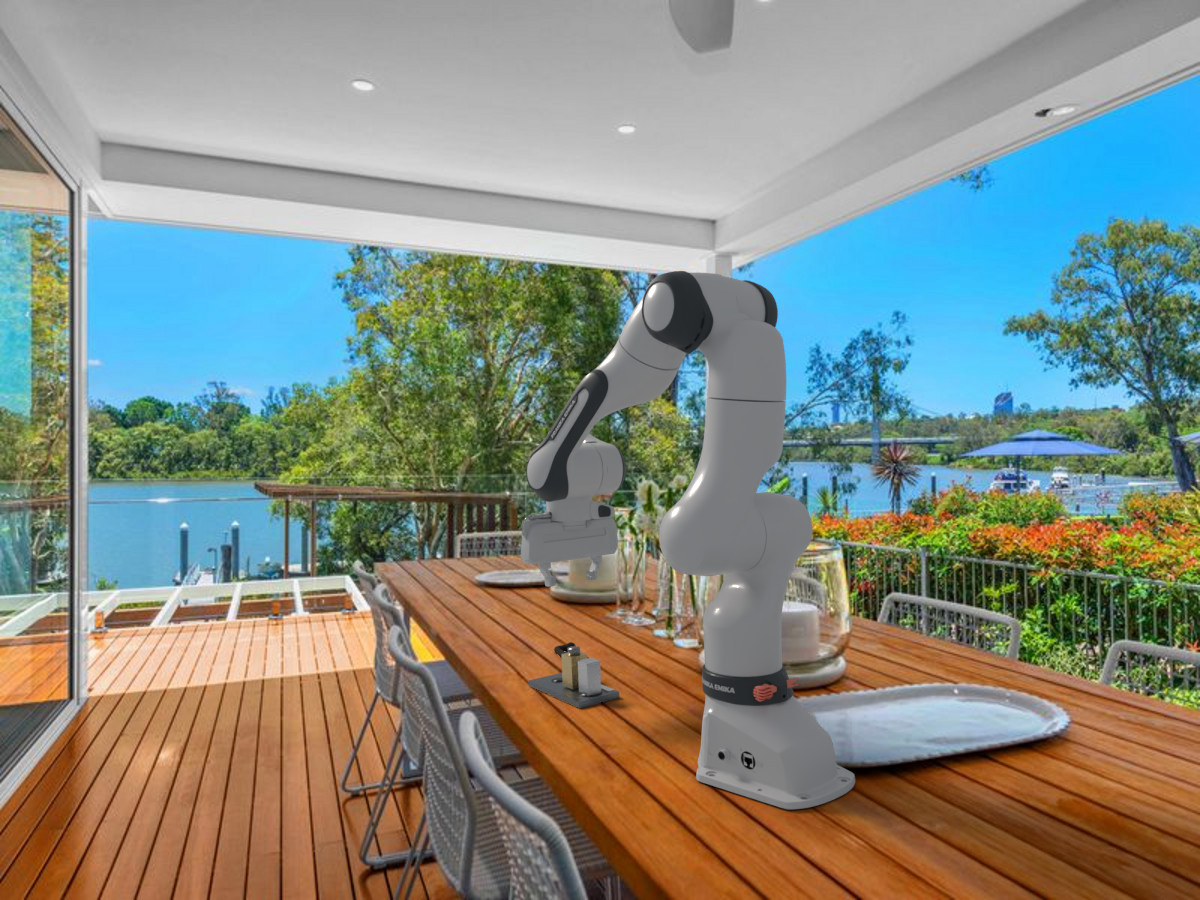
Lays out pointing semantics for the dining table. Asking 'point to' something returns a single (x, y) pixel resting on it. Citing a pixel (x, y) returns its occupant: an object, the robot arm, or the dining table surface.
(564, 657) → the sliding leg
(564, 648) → the wrench
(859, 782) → the dining table surface
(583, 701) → the bolt plate
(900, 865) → the dining table surface
